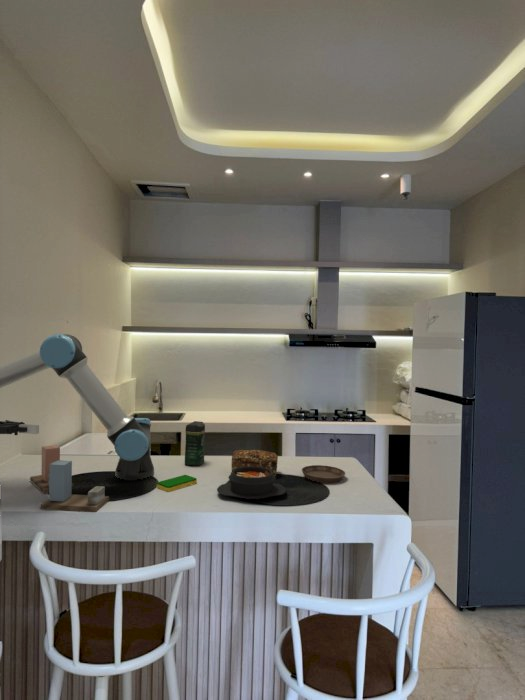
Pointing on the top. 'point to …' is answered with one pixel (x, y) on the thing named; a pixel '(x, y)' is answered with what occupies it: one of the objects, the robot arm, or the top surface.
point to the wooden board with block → (80, 501)
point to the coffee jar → (194, 443)
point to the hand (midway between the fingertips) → (37, 429)
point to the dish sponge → (176, 483)
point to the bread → (255, 459)
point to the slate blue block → (60, 480)
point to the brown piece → (42, 483)
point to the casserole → (251, 483)
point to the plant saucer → (323, 473)
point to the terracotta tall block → (49, 458)
